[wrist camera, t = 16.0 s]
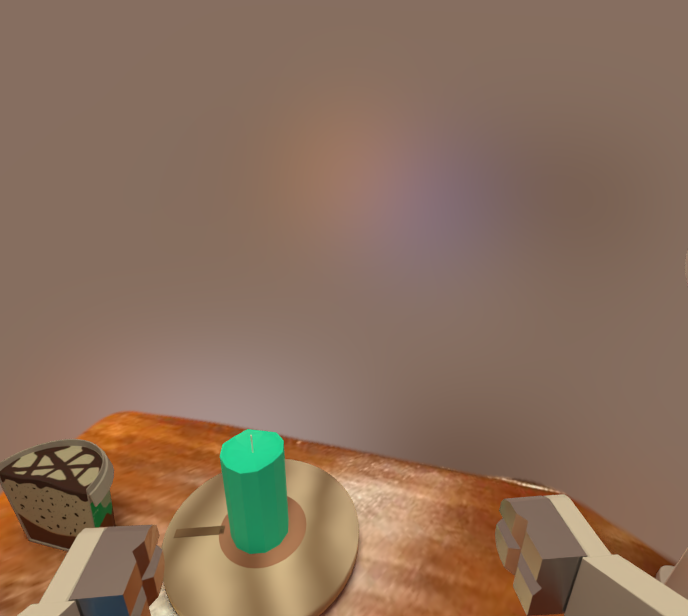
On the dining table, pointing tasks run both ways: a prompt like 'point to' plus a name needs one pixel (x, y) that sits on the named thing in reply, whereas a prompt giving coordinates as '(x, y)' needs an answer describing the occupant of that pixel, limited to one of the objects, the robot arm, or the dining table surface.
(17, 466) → the food container
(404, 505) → the dining table surface
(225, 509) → the turntable
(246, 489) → the candle
